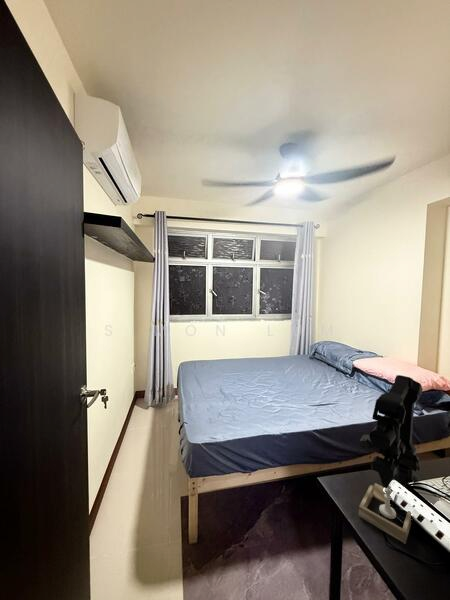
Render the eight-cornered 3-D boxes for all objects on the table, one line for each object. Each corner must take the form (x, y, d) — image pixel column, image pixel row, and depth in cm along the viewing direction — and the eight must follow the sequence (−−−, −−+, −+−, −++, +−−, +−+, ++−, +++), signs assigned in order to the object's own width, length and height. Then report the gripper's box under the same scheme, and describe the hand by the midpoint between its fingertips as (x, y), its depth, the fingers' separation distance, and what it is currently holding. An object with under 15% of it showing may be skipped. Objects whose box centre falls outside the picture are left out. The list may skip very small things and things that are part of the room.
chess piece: (399, 520, 83) (399, 491, 83) (382, 517, 84) (383, 489, 84) (392, 507, 88) (392, 479, 88) (376, 505, 89) (377, 478, 89)
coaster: (375, 484, 98) (375, 482, 98) (396, 494, 93) (396, 493, 93) (369, 495, 93) (369, 493, 93) (391, 506, 88) (391, 505, 88)
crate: (370, 493, 94) (370, 484, 94) (413, 515, 85) (413, 505, 85) (358, 516, 85) (358, 506, 85) (405, 543, 76) (405, 532, 75)
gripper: (370, 416, 97) (370, 454, 98) (354, 437, 84) (353, 482, 85) (405, 427, 89) (404, 469, 90) (393, 452, 76) (392, 501, 77)
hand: (388, 479), depth 86 cm, fingers open, 9 cm apart
